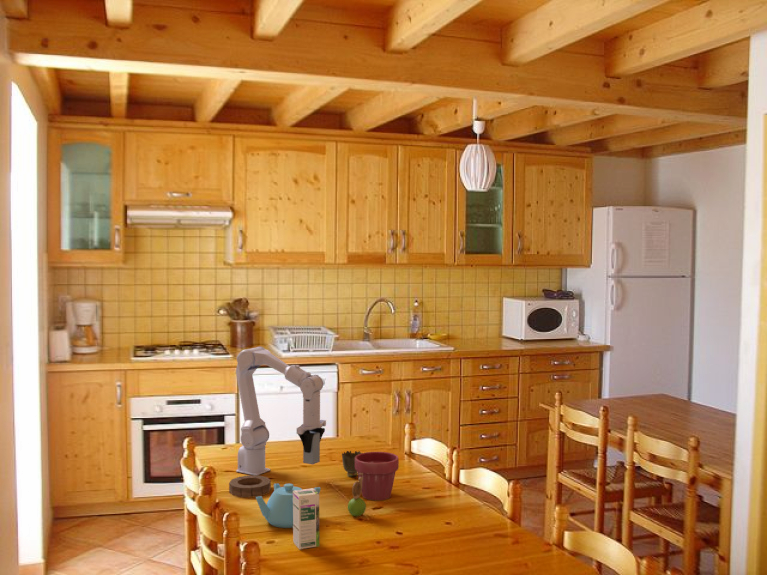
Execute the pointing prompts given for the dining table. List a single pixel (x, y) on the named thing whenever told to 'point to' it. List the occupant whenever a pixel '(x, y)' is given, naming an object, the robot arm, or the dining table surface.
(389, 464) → the plant pot
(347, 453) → the cup
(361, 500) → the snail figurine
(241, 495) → the walnut ring
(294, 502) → the syrup box
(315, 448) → the slate peg
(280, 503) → the teapot
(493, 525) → the dining table surface
